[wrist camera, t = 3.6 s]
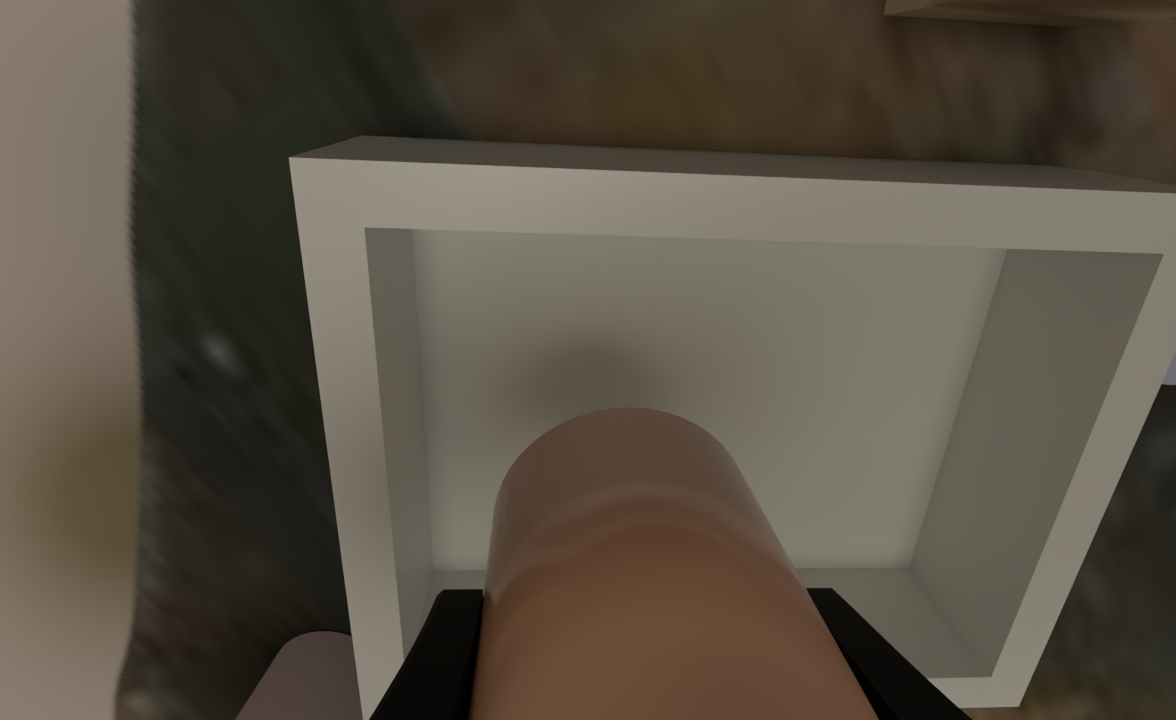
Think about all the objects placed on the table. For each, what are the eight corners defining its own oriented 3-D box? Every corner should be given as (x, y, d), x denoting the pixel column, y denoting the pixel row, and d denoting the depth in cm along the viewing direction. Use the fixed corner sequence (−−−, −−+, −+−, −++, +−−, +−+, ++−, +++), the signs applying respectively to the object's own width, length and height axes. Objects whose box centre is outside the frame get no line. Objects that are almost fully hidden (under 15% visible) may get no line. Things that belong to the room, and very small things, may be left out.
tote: (1059, 165, 17) (1244, 196, 13) (924, 582, 23) (1018, 706, 18) (362, 135, 16) (288, 157, 11) (401, 586, 22) (363, 721, 17)
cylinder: (765, 408, 12) (1040, 769, 5) (732, 623, 14) (906, 1092, 7) (492, 405, 11) (423, 788, 5) (493, 626, 13) (445, 1126, 7)
